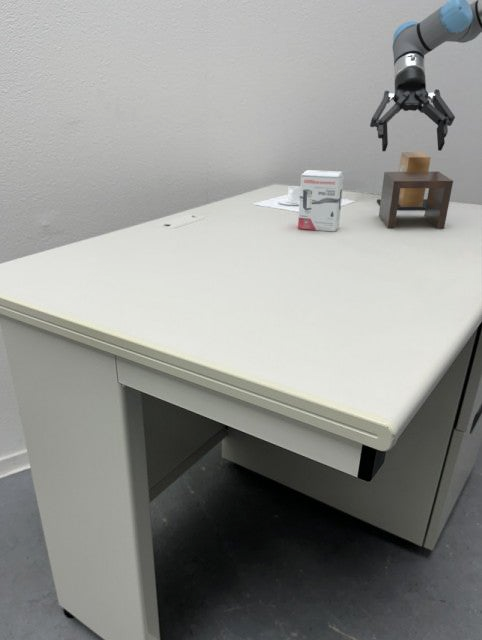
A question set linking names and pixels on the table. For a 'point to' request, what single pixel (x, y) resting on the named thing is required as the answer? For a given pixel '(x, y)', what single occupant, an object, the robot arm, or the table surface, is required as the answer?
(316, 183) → the ink box
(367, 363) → the table surface
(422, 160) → the tape carton
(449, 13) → the robot arm
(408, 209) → the mat
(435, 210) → the shelf
